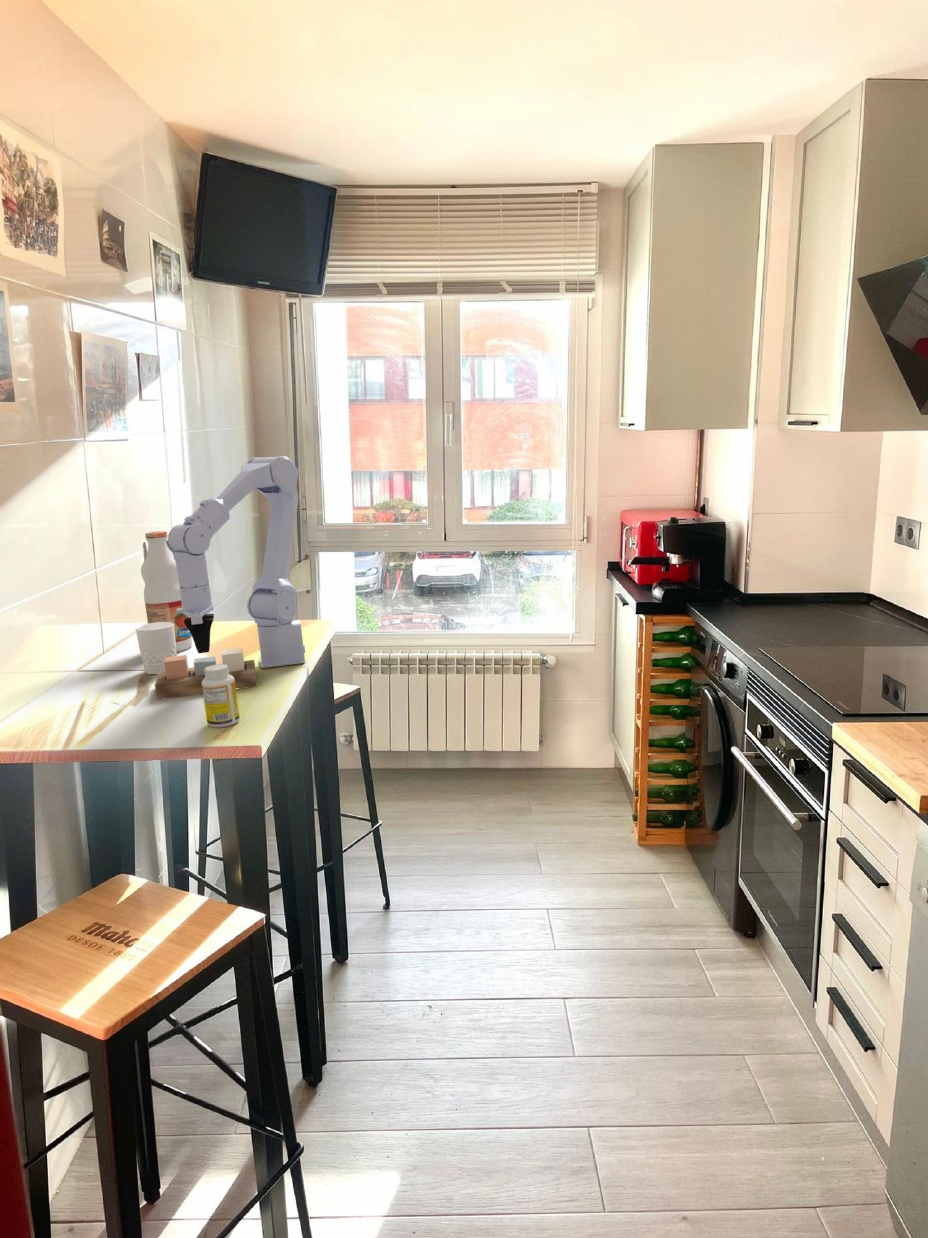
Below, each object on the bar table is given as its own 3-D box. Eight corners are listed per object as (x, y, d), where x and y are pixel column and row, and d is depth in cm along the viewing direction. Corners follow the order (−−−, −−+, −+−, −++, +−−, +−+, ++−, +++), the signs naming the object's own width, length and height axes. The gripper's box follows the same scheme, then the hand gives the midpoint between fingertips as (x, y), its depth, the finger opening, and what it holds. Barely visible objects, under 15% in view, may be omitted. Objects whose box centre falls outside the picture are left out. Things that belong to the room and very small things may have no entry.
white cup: (168, 675, 194) (162, 630, 192) (135, 676, 196) (128, 630, 194) (186, 665, 202) (180, 621, 200) (154, 665, 204) (147, 622, 201)
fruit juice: (153, 646, 222) (137, 532, 216) (194, 642, 224) (178, 528, 218) (150, 656, 213) (132, 536, 207) (191, 651, 215) (175, 532, 209)
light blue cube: (217, 675, 186) (215, 656, 185) (217, 680, 182) (214, 661, 181) (197, 677, 185) (194, 658, 184) (196, 683, 182) (193, 663, 181)
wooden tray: (255, 673, 191) (254, 659, 190) (256, 686, 181) (254, 671, 181) (161, 685, 187) (159, 671, 186) (156, 699, 177) (154, 684, 177)
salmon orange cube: (189, 673, 185) (186, 654, 184) (188, 679, 181) (185, 659, 180) (168, 676, 184) (165, 657, 183) (167, 681, 180) (164, 662, 179)
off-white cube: (244, 666, 187) (242, 648, 186) (244, 671, 183) (242, 652, 182) (224, 669, 186) (222, 650, 185) (224, 674, 182) (221, 655, 182)
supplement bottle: (227, 716, 164) (220, 661, 162) (246, 721, 160) (239, 665, 158) (200, 725, 160) (193, 669, 158) (219, 730, 156) (211, 673, 154)
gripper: (175, 581, 186) (185, 646, 189) (170, 594, 172) (180, 663, 175) (211, 577, 187) (220, 641, 190) (209, 589, 173) (218, 658, 176)
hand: (203, 652), depth 183 cm, fingers closed
